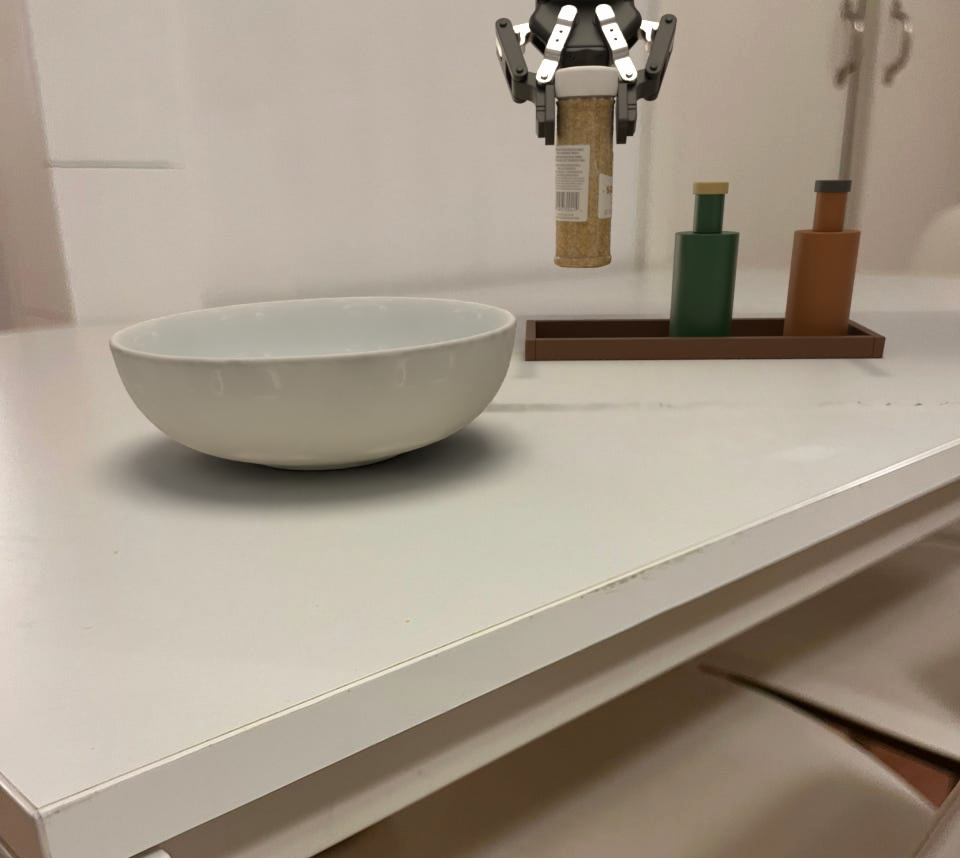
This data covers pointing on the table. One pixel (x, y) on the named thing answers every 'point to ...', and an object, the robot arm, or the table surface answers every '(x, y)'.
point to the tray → (689, 341)
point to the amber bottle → (823, 267)
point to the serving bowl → (316, 376)
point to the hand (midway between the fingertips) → (586, 134)
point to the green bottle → (704, 269)
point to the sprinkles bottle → (584, 165)
